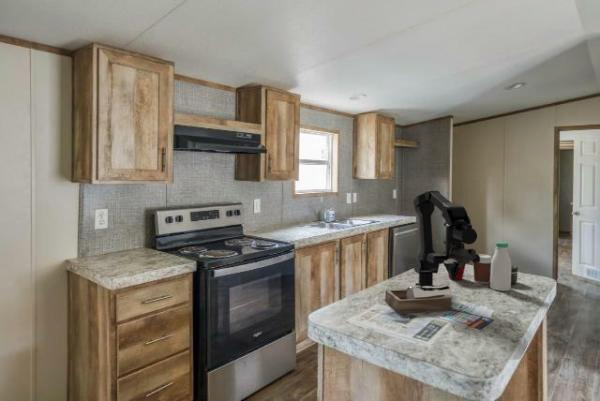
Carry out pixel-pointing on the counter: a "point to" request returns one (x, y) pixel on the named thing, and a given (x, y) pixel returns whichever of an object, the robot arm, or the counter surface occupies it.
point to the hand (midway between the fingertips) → (452, 280)
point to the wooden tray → (416, 303)
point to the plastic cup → (460, 273)
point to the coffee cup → (482, 269)
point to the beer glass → (428, 292)
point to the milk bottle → (501, 268)
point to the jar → (514, 274)
